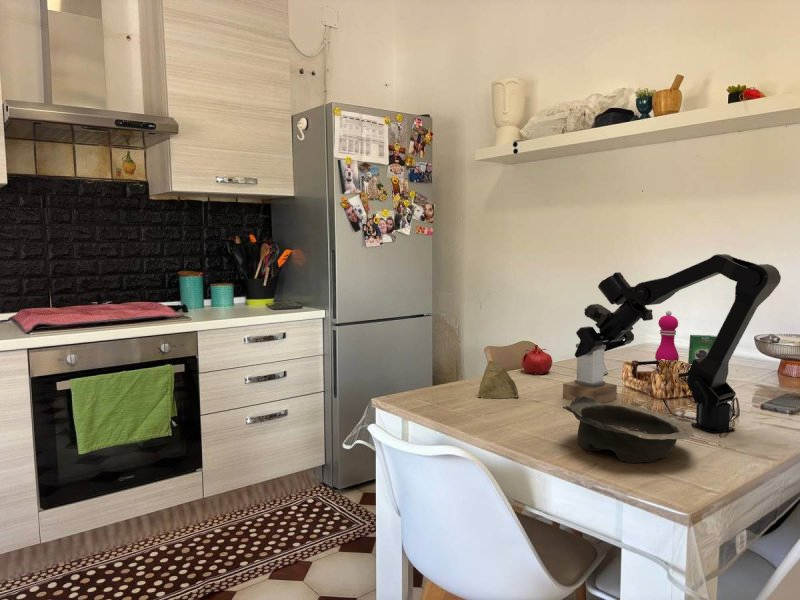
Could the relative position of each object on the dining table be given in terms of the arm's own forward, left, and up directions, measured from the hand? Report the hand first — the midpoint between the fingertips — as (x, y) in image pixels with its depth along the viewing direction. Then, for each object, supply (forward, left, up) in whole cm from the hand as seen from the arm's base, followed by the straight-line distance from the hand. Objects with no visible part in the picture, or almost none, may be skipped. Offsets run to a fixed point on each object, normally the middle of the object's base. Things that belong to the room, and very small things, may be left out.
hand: (586, 354), depth 162 cm
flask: (+26, -22, -12) cm, 36 cm away
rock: (+8, +22, -12) cm, 27 cm away
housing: (-1, 0, -8) cm, 8 cm away
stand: (-1, 0, -12) cm, 12 cm away
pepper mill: (+23, -47, -12) cm, 53 cm away
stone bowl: (-38, +16, -12) cm, 43 cm away
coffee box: (+13, -52, -12) cm, 55 cm away
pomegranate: (+33, -4, -12) cm, 35 cm away
